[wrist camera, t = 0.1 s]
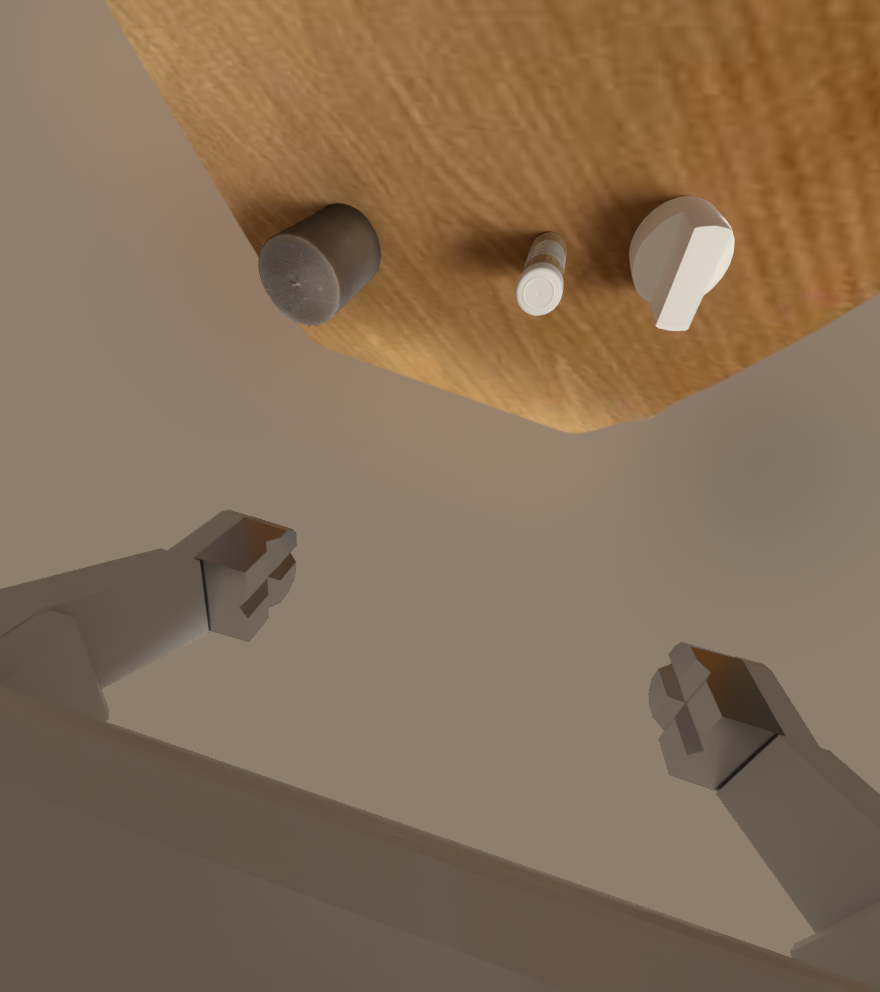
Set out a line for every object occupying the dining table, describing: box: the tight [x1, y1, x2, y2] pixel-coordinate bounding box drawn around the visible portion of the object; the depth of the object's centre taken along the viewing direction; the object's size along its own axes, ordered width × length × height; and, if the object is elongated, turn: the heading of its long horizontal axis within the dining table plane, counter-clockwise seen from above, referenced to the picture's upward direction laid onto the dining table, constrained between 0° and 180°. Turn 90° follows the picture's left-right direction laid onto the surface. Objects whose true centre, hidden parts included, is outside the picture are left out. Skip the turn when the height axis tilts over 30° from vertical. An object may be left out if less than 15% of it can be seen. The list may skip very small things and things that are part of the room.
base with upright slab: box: [629, 196, 735, 331], centre depth 41 cm, size 9×9×12 cm
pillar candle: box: [259, 204, 380, 326], centre depth 49 cm, size 10×10×15 cm
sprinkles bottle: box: [516, 232, 567, 316], centre depth 44 cm, size 5×4×13 cm
